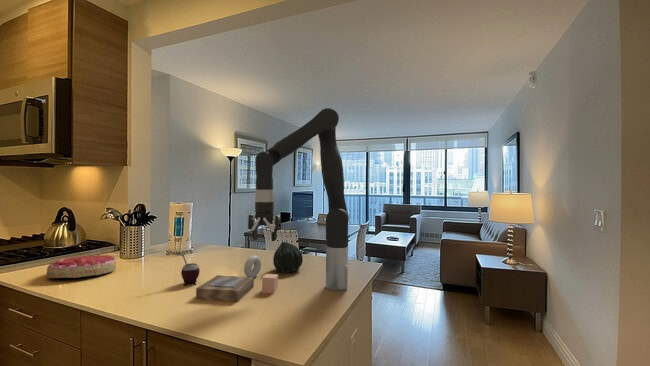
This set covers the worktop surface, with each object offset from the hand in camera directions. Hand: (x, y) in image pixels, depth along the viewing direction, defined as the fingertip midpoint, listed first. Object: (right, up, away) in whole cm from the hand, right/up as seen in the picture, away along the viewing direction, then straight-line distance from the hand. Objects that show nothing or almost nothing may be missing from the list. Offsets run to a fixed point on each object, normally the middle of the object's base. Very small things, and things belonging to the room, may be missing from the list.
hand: (264, 240), depth 121 cm
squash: (+6, -20, +26) cm, 34 cm away
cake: (-87, -19, +15) cm, 90 cm away
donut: (-8, -20, +14) cm, 26 cm away
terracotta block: (+3, -20, -2) cm, 20 cm away
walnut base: (-14, -20, -5) cm, 24 cm away
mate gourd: (-33, -20, +4) cm, 38 cm away
